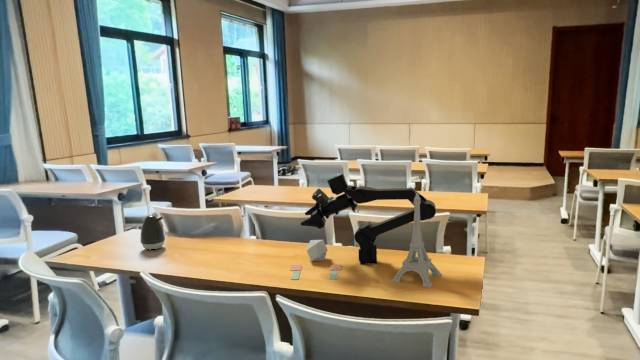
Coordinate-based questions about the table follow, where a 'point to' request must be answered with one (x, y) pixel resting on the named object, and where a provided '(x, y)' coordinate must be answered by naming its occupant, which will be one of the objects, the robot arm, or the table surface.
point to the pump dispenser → (152, 233)
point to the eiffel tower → (422, 261)
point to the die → (317, 250)
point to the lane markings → (298, 267)
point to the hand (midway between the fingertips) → (303, 219)
